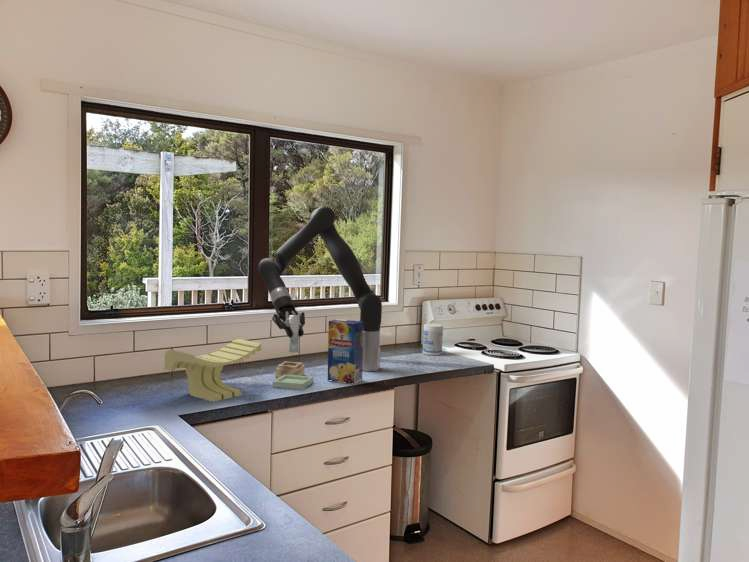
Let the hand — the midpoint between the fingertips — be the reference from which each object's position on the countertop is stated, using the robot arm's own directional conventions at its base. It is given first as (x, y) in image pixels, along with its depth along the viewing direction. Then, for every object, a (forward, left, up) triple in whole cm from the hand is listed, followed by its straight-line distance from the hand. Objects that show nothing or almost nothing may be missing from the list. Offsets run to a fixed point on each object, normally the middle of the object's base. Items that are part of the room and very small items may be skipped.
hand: (296, 335), depth 236 cm
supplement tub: (-42, -80, -20) cm, 92 cm away
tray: (+1, -1, -19) cm, 20 cm away
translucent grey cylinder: (+2, -1, -6) cm, 7 cm away
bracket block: (+7, -13, -19) cm, 25 cm away
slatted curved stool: (+23, +21, -20) cm, 37 cm away
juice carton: (-16, -14, -20) cm, 29 cm away
